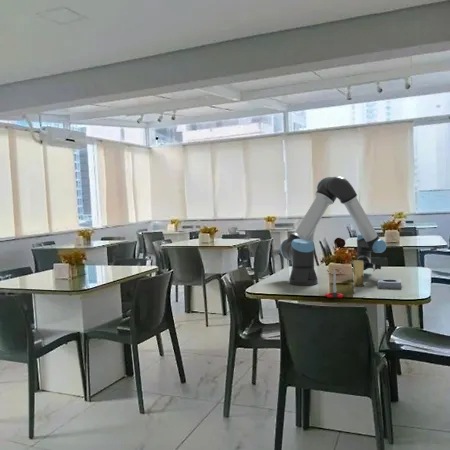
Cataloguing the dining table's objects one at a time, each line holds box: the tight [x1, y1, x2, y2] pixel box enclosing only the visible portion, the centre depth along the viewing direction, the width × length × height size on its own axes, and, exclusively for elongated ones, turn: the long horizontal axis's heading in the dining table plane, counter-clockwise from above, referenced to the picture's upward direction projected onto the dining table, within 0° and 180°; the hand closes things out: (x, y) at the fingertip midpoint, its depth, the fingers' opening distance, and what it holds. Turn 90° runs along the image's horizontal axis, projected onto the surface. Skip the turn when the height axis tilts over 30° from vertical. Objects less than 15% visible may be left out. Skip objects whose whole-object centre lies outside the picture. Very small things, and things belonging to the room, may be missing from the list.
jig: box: [377, 278, 402, 290], centre depth 242 cm, size 11×10×3 cm
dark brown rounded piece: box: [333, 237, 346, 249], centre depth 298 cm, size 15×15×20 cm
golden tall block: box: [352, 259, 365, 288], centre depth 246 cm, size 5×5×13 cm
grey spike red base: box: [324, 269, 344, 299], centre depth 224 cm, size 8×13×9 cm
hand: (360, 268), depth 253 cm, fingers open, 13 cm apart
